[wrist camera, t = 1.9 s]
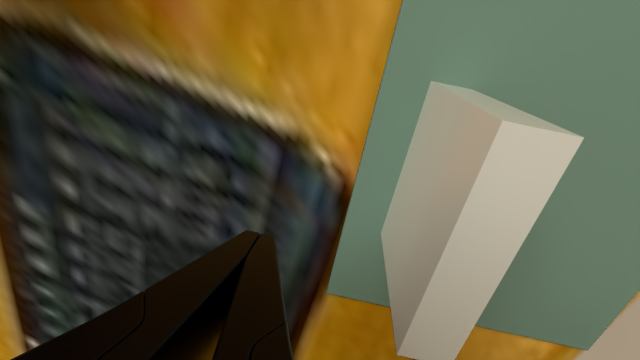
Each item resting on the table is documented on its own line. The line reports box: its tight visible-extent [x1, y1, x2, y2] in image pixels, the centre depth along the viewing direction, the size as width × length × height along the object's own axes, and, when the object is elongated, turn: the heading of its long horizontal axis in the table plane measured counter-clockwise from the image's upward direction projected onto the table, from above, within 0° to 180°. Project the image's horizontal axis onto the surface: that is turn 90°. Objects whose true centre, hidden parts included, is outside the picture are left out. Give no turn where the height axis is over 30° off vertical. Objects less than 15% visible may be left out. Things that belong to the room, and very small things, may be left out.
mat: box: [327, 0, 640, 350], centre depth 15 cm, size 18×16×1 cm
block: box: [381, 81, 584, 360], centre depth 12 cm, size 8×2×7 cm, turn 170°
